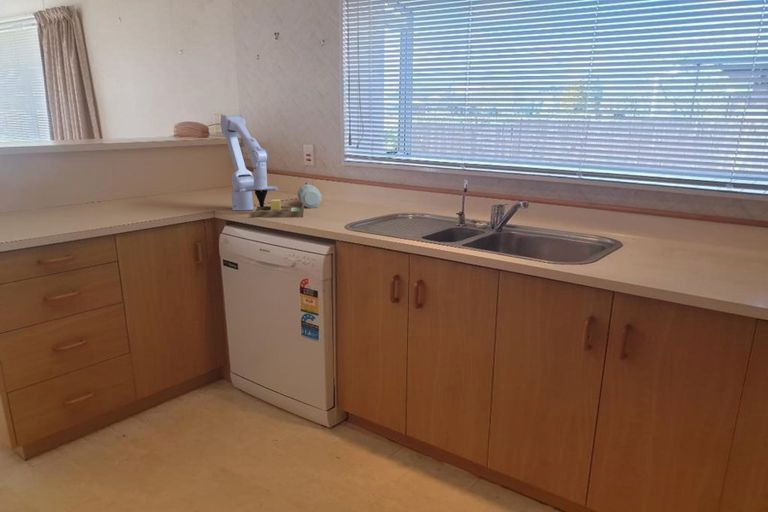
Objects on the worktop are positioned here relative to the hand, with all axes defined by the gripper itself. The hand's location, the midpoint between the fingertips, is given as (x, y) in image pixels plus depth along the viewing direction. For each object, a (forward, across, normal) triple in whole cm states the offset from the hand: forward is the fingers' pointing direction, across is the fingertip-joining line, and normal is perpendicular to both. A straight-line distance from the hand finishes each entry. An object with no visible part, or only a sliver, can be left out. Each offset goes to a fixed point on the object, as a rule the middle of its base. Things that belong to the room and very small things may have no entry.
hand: (262, 206), depth 249 cm
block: (+1, +6, 0) cm, 6 cm away
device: (+3, +20, +26) cm, 33 cm away
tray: (+3, +8, -3) cm, 9 cm away
